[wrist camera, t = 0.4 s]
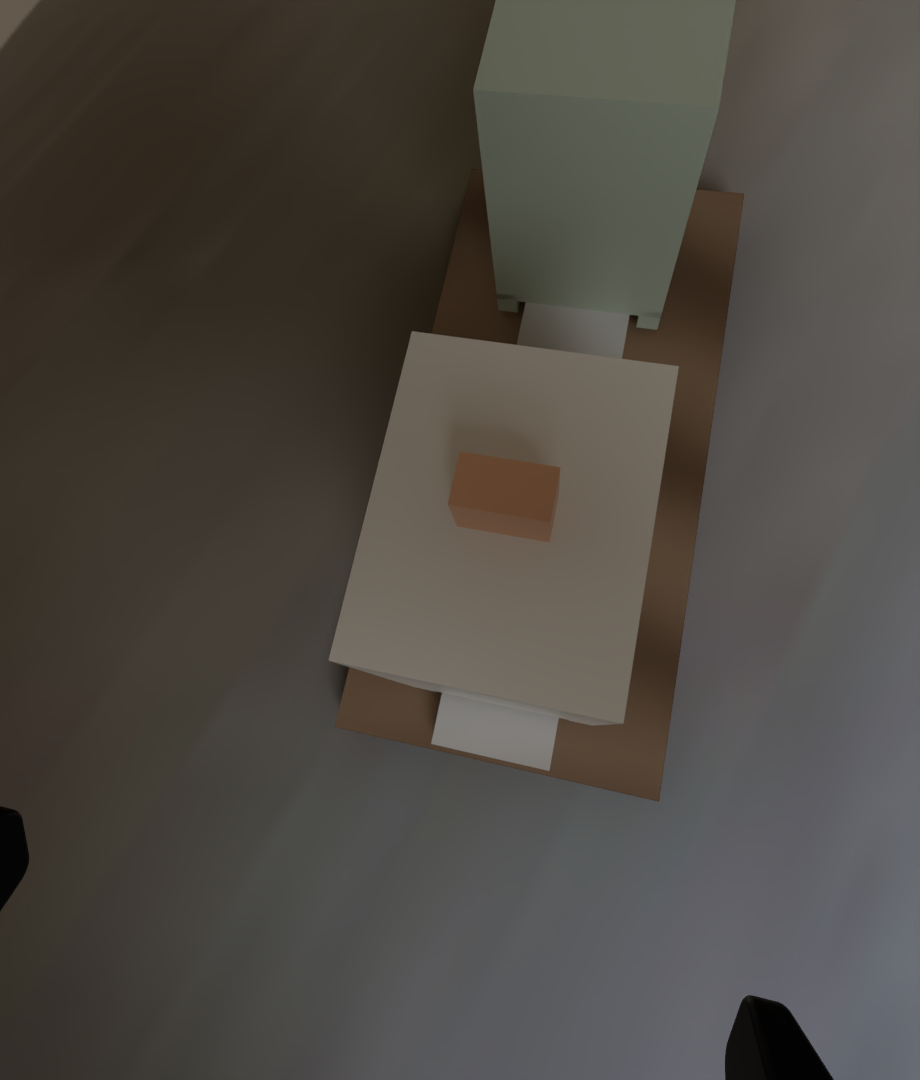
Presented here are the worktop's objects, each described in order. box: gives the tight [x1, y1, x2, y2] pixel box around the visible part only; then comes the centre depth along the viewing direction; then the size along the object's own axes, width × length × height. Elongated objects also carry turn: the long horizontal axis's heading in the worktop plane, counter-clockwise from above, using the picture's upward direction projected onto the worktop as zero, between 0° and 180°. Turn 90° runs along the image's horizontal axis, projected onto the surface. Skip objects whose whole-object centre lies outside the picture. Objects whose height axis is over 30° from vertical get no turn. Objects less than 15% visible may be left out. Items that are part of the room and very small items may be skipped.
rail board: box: [335, 169, 744, 801], centre depth 24 cm, size 21×10×2 cm, turn 168°
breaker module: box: [328, 331, 679, 726], centre depth 17 cm, size 7×6×10 cm
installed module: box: [473, 0, 736, 330], centre depth 21 cm, size 6×6×9 cm
